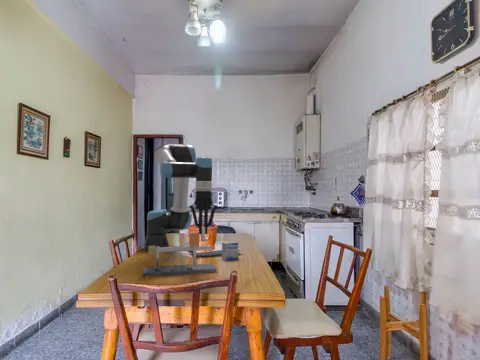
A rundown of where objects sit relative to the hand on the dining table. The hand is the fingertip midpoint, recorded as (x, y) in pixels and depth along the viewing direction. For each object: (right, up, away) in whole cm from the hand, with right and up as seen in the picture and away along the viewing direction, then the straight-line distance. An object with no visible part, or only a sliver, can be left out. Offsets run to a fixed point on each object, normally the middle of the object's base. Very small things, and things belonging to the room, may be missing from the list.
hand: (202, 241), depth 148 cm
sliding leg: (-4, -11, -1) cm, 12 cm away
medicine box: (+12, -14, +23) cm, 29 cm away
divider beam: (-10, -11, -4) cm, 15 cm away
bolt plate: (-10, -13, -3) cm, 17 cm away
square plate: (+1, -14, +40) cm, 43 cm away
